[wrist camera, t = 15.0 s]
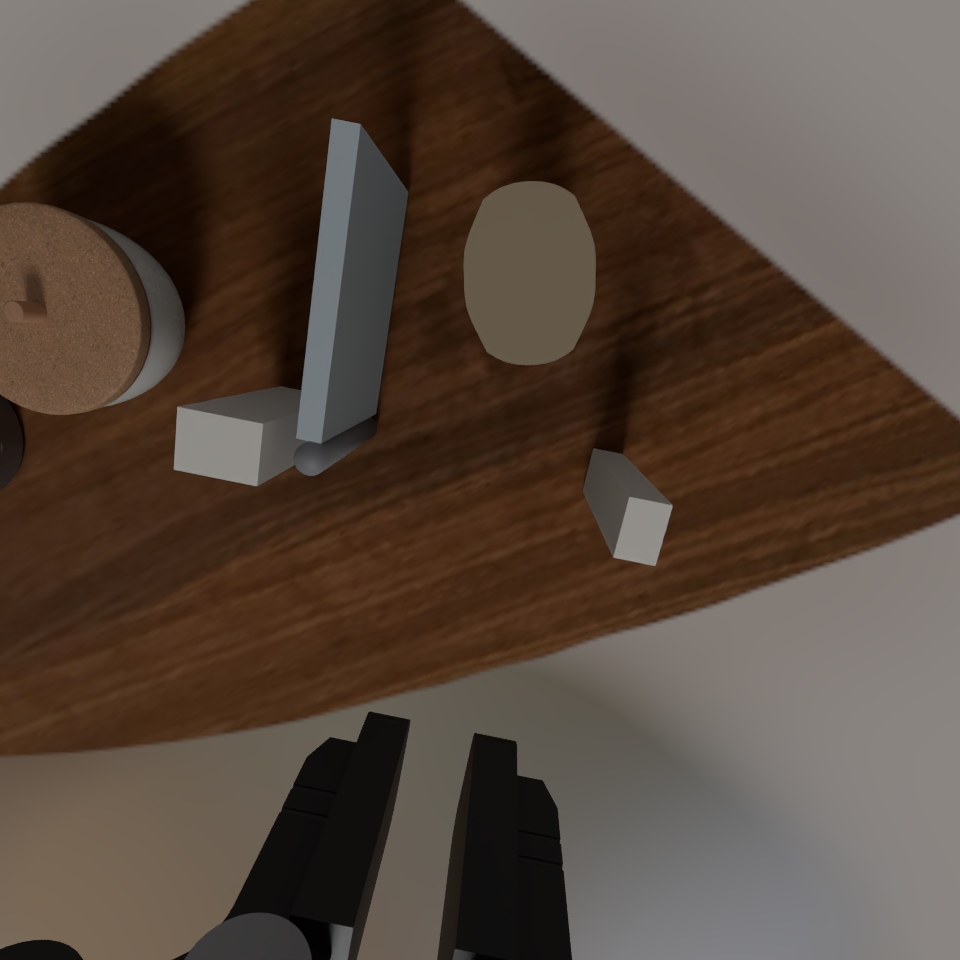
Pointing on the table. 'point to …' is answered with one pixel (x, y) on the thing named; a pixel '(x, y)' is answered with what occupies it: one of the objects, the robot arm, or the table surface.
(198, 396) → the table surface
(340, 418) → the door
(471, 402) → the table surface
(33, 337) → the lidded jar
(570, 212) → the tan tapered grip
